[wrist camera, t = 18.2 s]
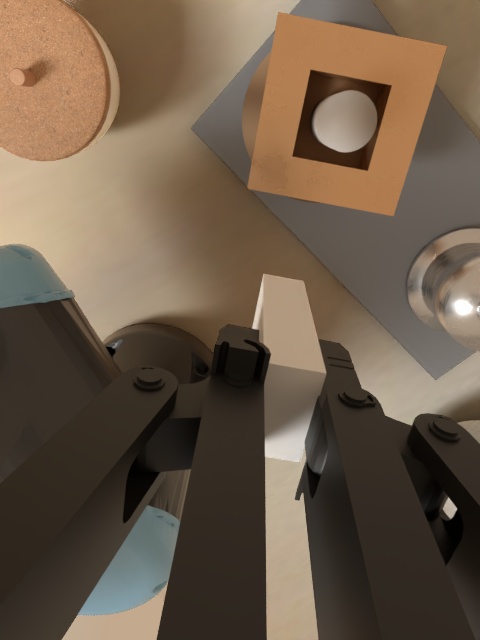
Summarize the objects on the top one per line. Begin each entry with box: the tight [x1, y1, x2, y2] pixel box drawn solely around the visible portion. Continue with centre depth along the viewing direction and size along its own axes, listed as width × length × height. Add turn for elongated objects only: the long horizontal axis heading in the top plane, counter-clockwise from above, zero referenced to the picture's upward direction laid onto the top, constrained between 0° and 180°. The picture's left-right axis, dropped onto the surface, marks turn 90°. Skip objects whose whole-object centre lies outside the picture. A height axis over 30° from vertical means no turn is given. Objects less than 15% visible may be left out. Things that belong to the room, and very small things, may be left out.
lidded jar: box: [0, 0, 120, 161], centre depth 34 cm, size 11×11×9 cm
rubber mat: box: [191, 0, 480, 380], centre depth 40 cm, size 34×16×1 cm, turn 45°
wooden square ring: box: [247, 12, 447, 216], centre depth 30 cm, size 10×10×3 cm
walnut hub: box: [242, 50, 380, 203], centre depth 31 cm, size 13×13×13 cm
